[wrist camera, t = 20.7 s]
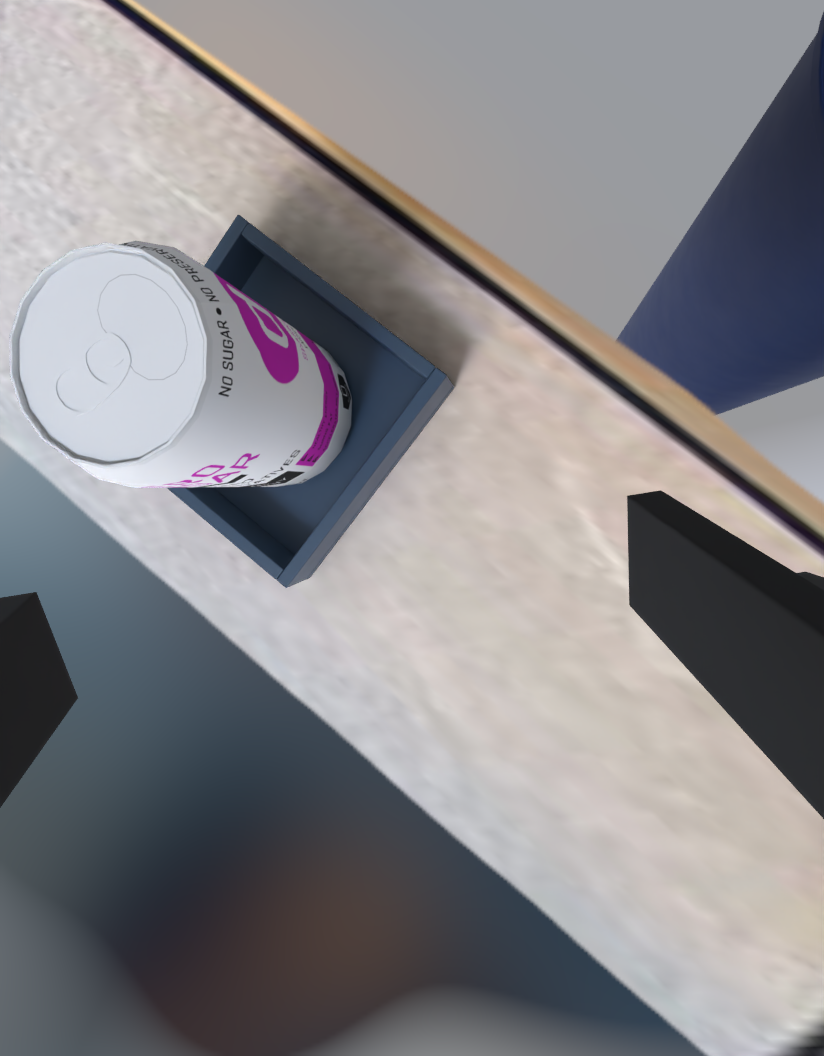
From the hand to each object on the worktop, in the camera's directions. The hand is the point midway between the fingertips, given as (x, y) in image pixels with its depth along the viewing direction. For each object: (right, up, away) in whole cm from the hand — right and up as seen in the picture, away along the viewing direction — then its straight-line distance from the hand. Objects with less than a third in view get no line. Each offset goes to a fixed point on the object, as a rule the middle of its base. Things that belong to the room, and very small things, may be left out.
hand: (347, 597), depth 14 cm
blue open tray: (-6, +8, +21) cm, 23 cm away
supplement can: (-6, +8, +21) cm, 23 cm away
